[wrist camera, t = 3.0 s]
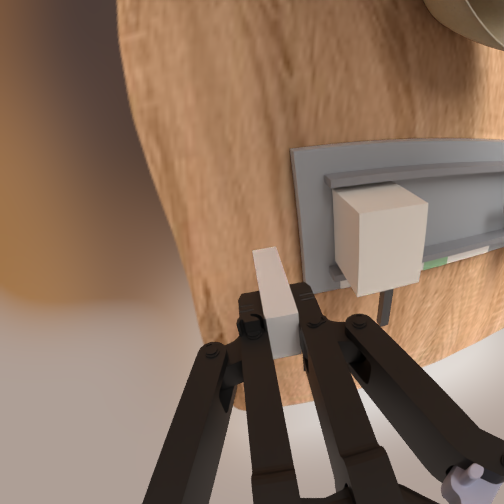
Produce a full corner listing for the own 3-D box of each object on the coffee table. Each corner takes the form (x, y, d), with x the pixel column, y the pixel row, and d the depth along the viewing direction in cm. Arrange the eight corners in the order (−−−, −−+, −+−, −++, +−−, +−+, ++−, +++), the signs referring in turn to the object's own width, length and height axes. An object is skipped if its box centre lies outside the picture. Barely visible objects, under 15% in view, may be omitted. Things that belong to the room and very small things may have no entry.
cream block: (332, 188, 21) (359, 213, 16) (391, 180, 21) (428, 203, 16) (335, 294, 25) (354, 333, 21) (386, 283, 25) (411, 318, 21)
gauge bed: (289, 148, 21) (318, 171, 14) (526, 141, 20) (572, 160, 14) (303, 287, 26) (325, 345, 20) (513, 237, 26) (551, 266, 20)
